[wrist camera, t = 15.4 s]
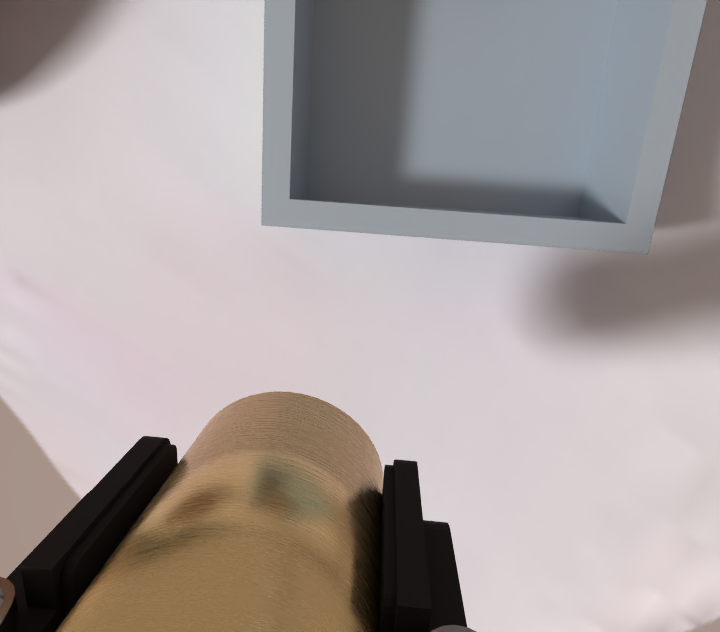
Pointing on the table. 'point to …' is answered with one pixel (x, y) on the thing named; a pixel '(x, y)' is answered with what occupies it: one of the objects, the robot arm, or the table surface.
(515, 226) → the tote
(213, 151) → the table surface
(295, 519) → the brass cylinder
